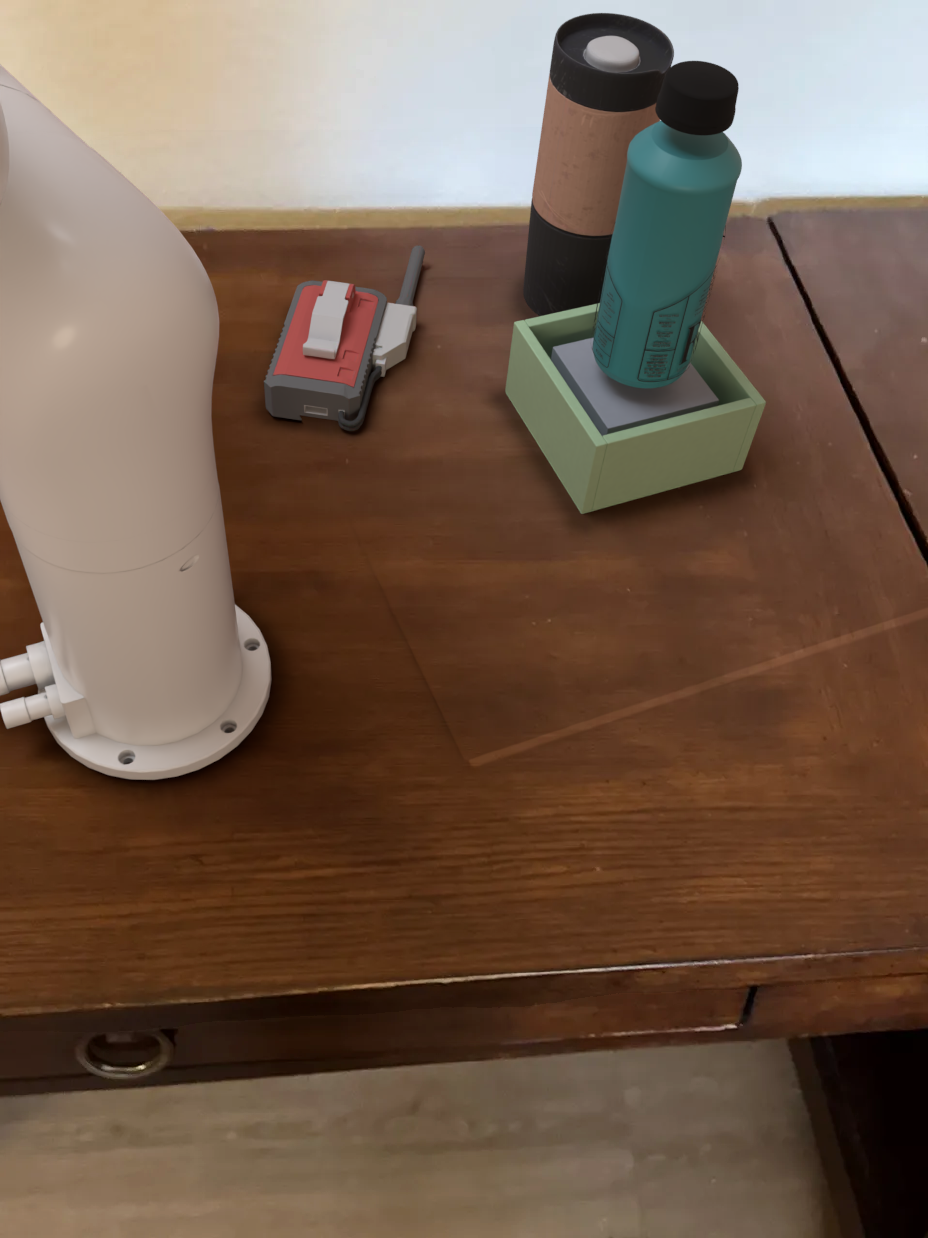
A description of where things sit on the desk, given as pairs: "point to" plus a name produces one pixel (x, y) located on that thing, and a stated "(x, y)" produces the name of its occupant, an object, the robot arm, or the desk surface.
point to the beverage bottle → (668, 229)
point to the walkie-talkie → (339, 348)
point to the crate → (637, 454)
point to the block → (626, 392)
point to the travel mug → (588, 151)
